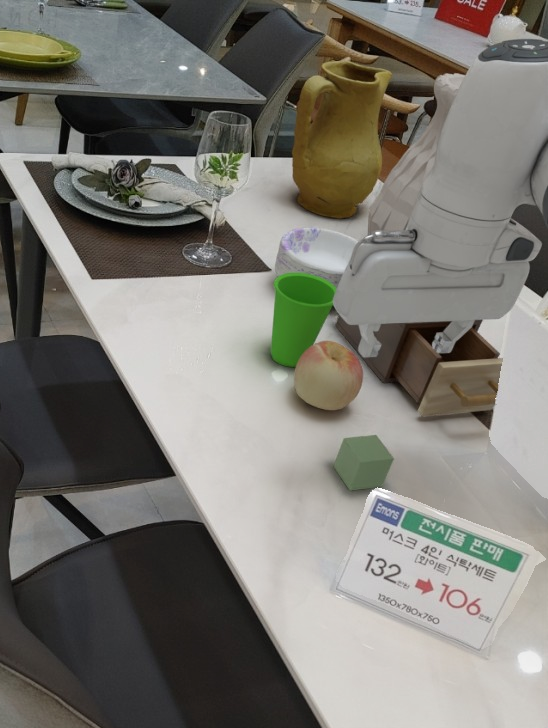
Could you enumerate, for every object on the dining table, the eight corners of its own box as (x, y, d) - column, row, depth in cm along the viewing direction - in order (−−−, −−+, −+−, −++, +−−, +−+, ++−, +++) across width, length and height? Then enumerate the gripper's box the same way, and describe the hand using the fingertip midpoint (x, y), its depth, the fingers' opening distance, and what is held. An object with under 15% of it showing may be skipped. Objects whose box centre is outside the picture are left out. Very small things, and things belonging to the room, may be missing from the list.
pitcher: (376, 227, 149) (413, 83, 132) (280, 217, 149) (306, 73, 132) (365, 196, 162) (398, 61, 145) (277, 187, 162) (300, 52, 145)
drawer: (509, 429, 104) (536, 380, 98) (438, 436, 100) (461, 387, 95) (436, 352, 116) (456, 306, 111) (371, 356, 113) (388, 309, 107)
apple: (303, 376, 108) (318, 326, 103) (361, 401, 106) (379, 351, 100) (277, 403, 103) (291, 352, 97) (337, 430, 100) (356, 379, 94)
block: (364, 462, 96) (376, 434, 93) (382, 486, 93) (394, 458, 90) (333, 466, 94) (343, 437, 91) (349, 490, 91) (360, 462, 88)
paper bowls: (356, 325, 121) (371, 279, 115) (262, 302, 122) (273, 255, 117) (364, 284, 132) (378, 239, 126) (278, 263, 133) (288, 218, 128)
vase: (404, 301, 129) (477, 108, 108) (333, 247, 141) (386, 65, 120) (487, 285, 137) (569, 104, 117) (413, 236, 149) (475, 64, 128)
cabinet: (456, 377, 113) (483, 319, 107) (382, 383, 110) (405, 323, 103) (404, 322, 124) (425, 266, 117) (335, 325, 120) (353, 268, 113)
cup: (244, 351, 111) (260, 281, 103) (285, 334, 116) (303, 266, 108) (290, 382, 107) (310, 311, 99) (330, 363, 112) (352, 294, 104)
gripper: (376, 246, 69) (332, 374, 79) (556, 245, 75) (495, 364, 85) (345, 215, 74) (307, 340, 83) (518, 217, 80) (464, 333, 89)
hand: (404, 352), depth 84 cm, fingers open, 8 cm apart
